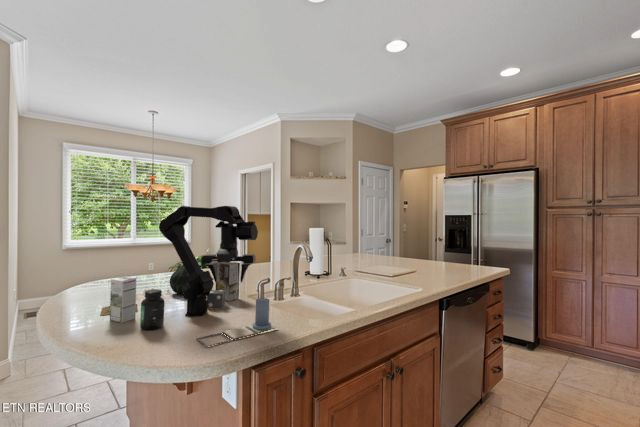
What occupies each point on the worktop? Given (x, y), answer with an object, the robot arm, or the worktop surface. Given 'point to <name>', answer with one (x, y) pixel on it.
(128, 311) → the syrup box
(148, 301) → the supplement bottle
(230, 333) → the game board
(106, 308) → the cookie
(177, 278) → the squash
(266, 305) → the blue flanged cylinder
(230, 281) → the coffee box
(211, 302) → the die
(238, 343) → the worktop surface
